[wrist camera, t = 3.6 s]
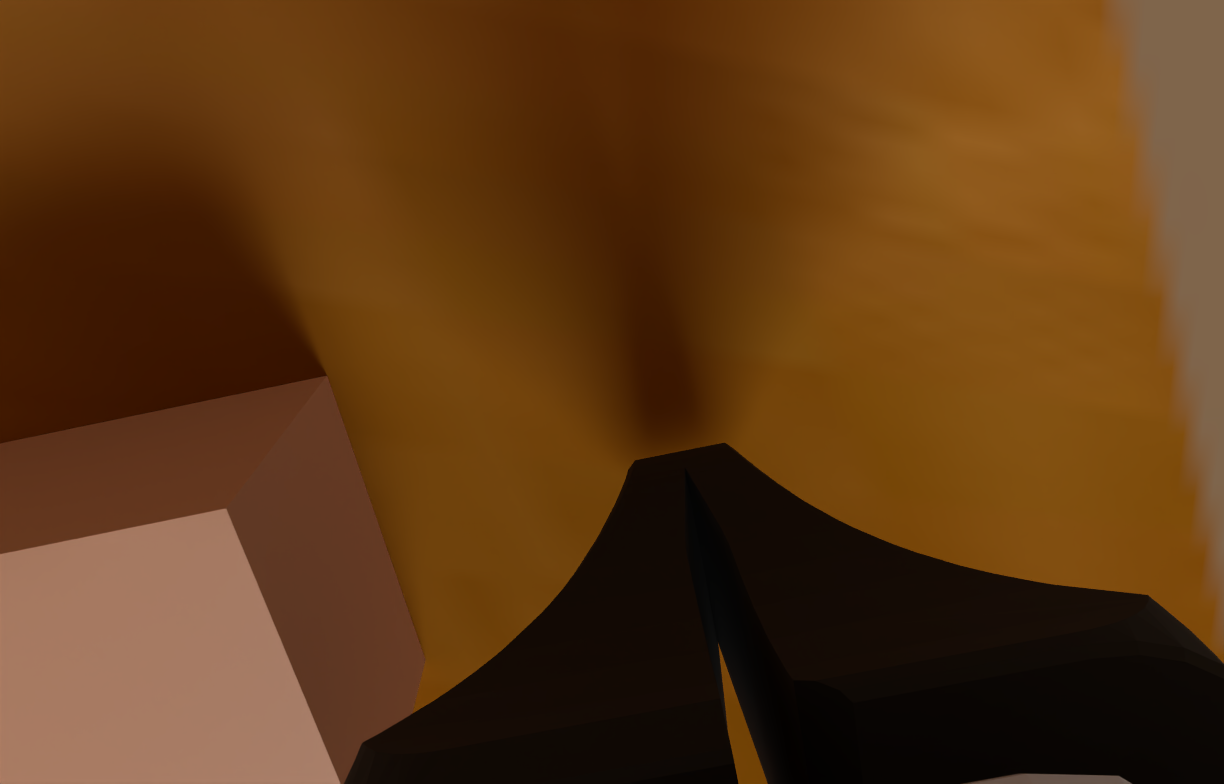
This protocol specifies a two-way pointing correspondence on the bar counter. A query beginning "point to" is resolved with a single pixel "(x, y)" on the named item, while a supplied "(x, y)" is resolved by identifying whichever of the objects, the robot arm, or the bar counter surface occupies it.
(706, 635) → the robot arm
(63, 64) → the bar counter surface
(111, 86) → the bar counter surface
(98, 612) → the block
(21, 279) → the bar counter surface
